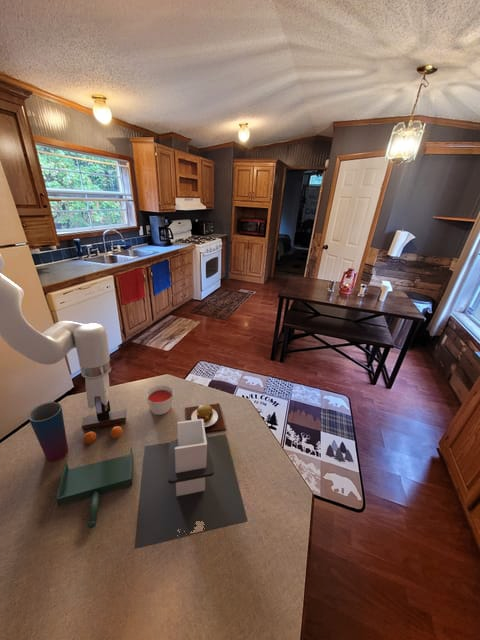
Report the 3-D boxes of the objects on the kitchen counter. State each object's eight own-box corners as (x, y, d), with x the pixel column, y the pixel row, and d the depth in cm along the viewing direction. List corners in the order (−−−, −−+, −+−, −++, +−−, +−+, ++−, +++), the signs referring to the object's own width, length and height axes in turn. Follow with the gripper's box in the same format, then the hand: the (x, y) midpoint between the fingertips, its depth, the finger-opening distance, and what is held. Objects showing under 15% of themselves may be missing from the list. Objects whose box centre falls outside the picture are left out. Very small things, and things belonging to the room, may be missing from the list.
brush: (84, 422, 80) (80, 401, 76) (126, 414, 84) (123, 394, 81) (82, 432, 76) (77, 410, 73) (126, 423, 81) (123, 402, 77)
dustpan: (67, 470, 66) (65, 463, 65) (132, 454, 71) (131, 447, 70) (48, 546, 51) (45, 538, 50) (132, 518, 57) (131, 511, 56)
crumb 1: (82, 445, 73) (80, 437, 71) (88, 436, 76) (87, 428, 74) (92, 446, 73) (91, 438, 71) (99, 437, 76) (97, 429, 74)
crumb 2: (109, 439, 75) (107, 431, 74) (114, 431, 78) (113, 423, 77) (119, 440, 75) (118, 432, 74) (124, 432, 78) (123, 424, 77)
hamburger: (218, 404, 92) (219, 392, 90) (225, 430, 82) (226, 417, 80) (185, 408, 89) (185, 396, 87) (188, 435, 79) (188, 422, 76)
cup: (37, 466, 66) (22, 423, 60) (47, 445, 72) (35, 403, 66) (67, 461, 68) (55, 419, 62) (75, 441, 74) (65, 400, 68)
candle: (142, 407, 88) (140, 393, 85) (164, 395, 94) (163, 381, 92) (157, 421, 83) (156, 406, 80) (179, 407, 89) (179, 393, 87)
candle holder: (144, 446, 74) (140, 402, 68) (225, 434, 80) (229, 392, 74) (134, 548, 52) (126, 497, 46) (247, 520, 58) (254, 472, 52)
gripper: (85, 353, 77) (94, 400, 85) (75, 386, 64) (86, 439, 71) (112, 350, 80) (118, 396, 87) (108, 381, 66) (116, 433, 74)
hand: (104, 415), depth 79 cm, fingers closed on brush, 2 cm apart
